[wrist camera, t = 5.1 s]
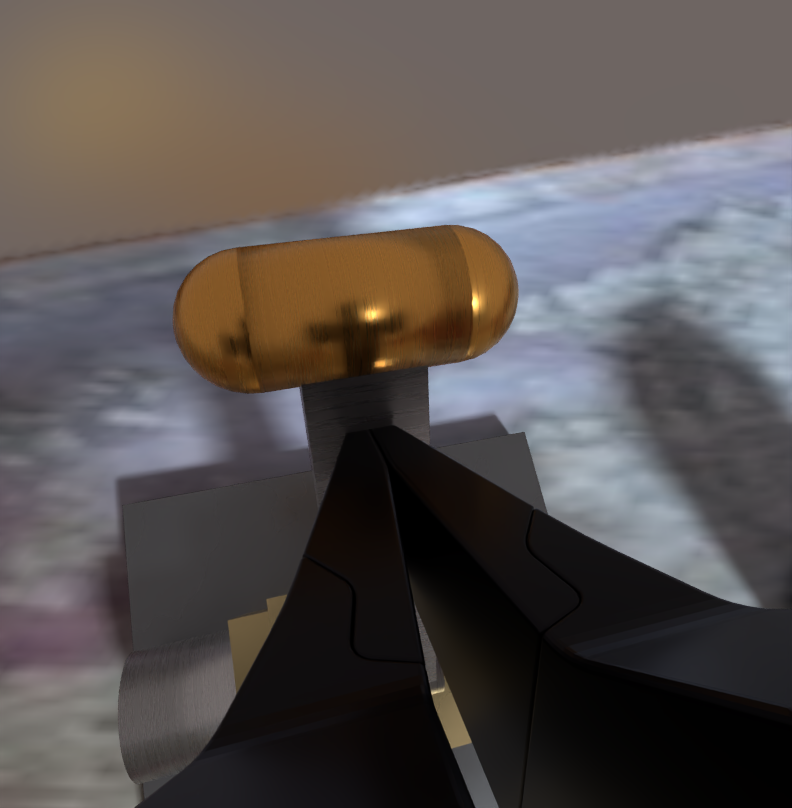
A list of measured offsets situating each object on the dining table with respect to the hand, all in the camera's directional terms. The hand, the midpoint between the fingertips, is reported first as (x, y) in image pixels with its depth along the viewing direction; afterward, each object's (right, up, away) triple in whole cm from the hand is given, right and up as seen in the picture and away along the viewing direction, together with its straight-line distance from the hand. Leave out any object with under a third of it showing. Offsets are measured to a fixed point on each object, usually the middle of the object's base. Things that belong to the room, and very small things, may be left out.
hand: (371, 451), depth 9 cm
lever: (0, -6, +4) cm, 7 cm away
